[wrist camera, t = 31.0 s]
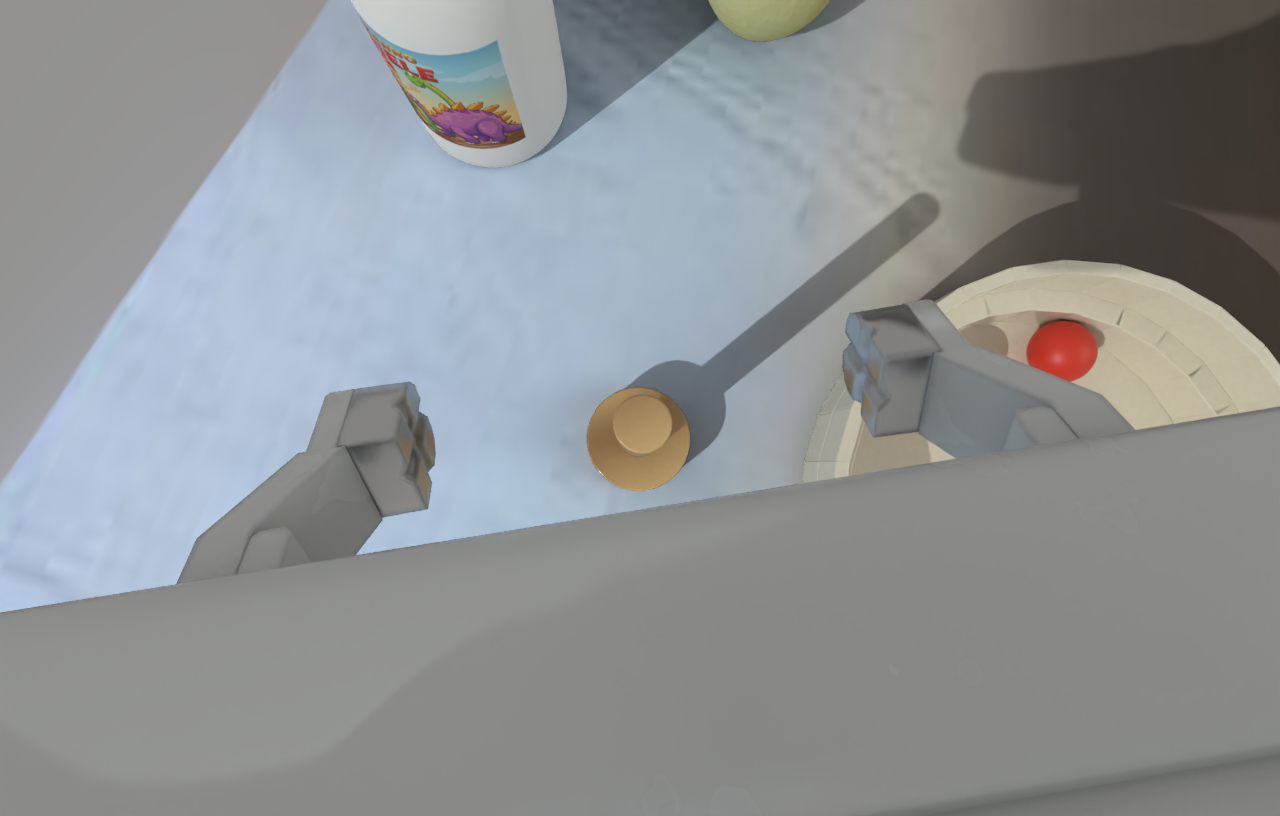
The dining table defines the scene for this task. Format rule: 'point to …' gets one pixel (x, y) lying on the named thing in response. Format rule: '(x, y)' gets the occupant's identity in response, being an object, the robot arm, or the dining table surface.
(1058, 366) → the tomato
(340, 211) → the dining table surface
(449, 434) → the dining table surface
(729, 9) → the fruit
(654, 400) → the wooden peg stand
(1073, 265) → the bowl
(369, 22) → the milk bottle
